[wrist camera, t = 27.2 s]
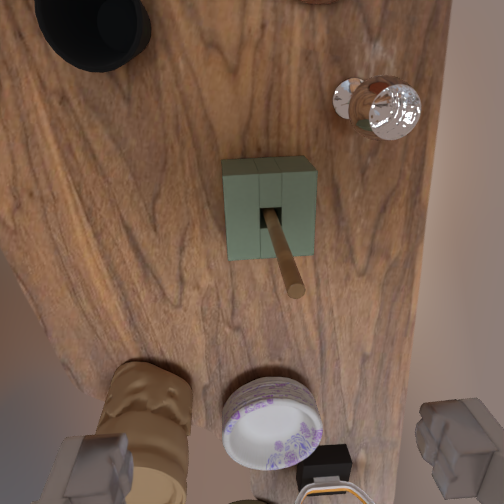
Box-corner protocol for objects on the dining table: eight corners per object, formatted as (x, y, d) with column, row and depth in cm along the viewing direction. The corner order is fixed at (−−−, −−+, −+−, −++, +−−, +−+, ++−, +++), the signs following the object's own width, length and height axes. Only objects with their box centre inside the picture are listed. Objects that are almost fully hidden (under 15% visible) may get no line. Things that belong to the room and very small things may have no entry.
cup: (66, 11, 38) (9, -6, 28) (127, -38, 37) (92, -76, 26) (119, 82, 42) (86, 92, 31) (177, 40, 40) (163, 34, 30)
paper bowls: (246, 351, 60) (250, 390, 53) (328, 378, 64) (342, 418, 57) (206, 416, 66) (205, 459, 58) (284, 437, 70) (292, 480, 63)
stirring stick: (269, 191, 49) (306, 283, 29) (269, 201, 49) (305, 298, 30) (258, 191, 48) (287, 284, 29) (258, 202, 49) (287, 299, 30)
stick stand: (304, 155, 47) (317, 170, 41) (301, 231, 51) (313, 255, 45) (221, 159, 46) (222, 175, 40) (226, 235, 51) (227, 261, 45)
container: (123, 417, 64) (93, 538, 48) (102, 360, 58) (60, 475, 42) (199, 407, 64) (194, 523, 48) (185, 348, 59) (175, 458, 43)
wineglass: (337, 64, 43) (378, 67, 32) (384, 79, 44) (439, 87, 33) (319, 117, 45) (352, 137, 34) (364, 130, 46) (409, 153, 36)
